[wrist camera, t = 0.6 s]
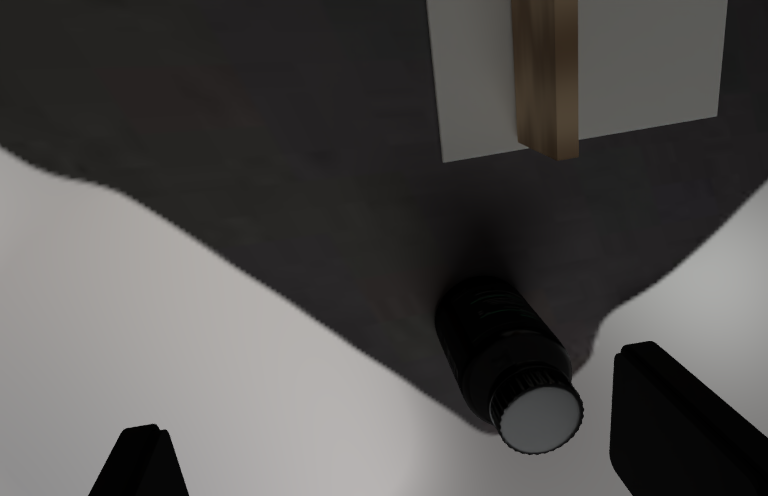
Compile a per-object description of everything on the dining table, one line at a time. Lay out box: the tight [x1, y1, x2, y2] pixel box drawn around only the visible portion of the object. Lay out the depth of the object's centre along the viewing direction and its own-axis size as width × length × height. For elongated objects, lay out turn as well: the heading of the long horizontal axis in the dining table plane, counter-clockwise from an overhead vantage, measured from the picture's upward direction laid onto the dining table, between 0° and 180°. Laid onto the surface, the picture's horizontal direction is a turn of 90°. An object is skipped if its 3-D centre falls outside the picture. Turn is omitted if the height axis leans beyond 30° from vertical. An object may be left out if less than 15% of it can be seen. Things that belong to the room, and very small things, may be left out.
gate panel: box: [511, 0, 579, 161], centre depth 29 cm, size 12×1×6 cm, turn 8°
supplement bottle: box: [435, 276, 584, 455], centre depth 34 cm, size 7×7×12 cm
